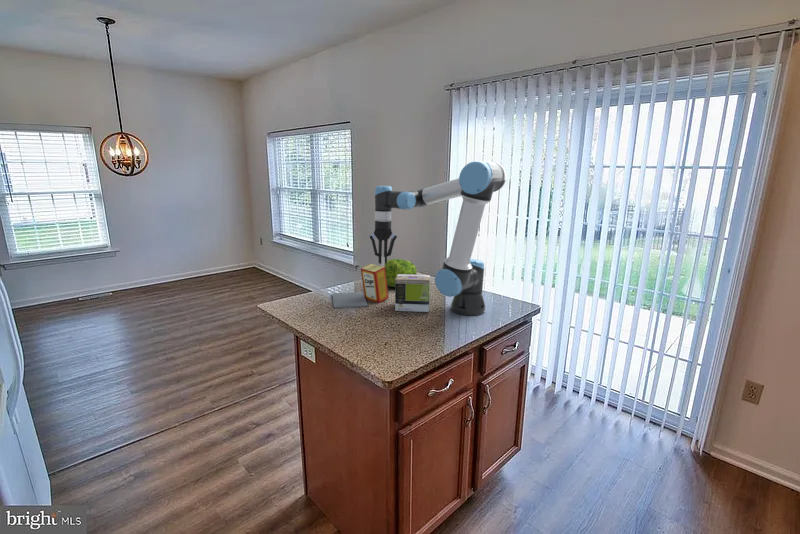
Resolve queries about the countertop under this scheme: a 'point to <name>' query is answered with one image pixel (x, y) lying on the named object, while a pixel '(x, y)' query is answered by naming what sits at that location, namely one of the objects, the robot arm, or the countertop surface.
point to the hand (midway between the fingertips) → (382, 270)
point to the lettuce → (398, 269)
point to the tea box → (412, 292)
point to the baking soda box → (374, 283)
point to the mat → (349, 300)
